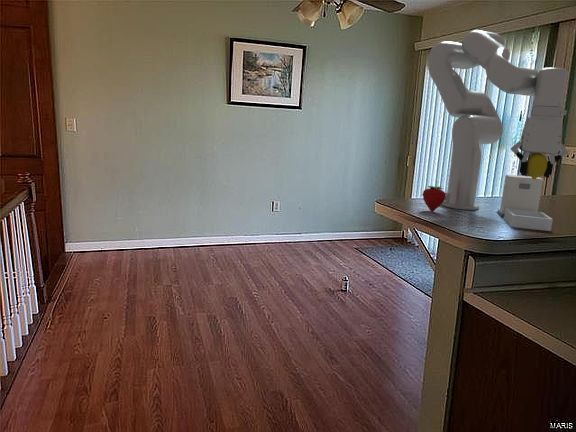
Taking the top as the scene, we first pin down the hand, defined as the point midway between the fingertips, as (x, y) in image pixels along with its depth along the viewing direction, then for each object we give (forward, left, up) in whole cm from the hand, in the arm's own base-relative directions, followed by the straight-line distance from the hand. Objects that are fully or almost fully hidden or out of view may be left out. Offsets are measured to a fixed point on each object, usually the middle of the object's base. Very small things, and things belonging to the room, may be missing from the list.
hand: (534, 175), depth 136 cm
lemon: (0, 0, -1) cm, 1 cm away
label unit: (0, +12, -15) cm, 19 cm away
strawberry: (-27, +7, -15) cm, 32 cm away
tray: (0, 0, -15) cm, 15 cm away
